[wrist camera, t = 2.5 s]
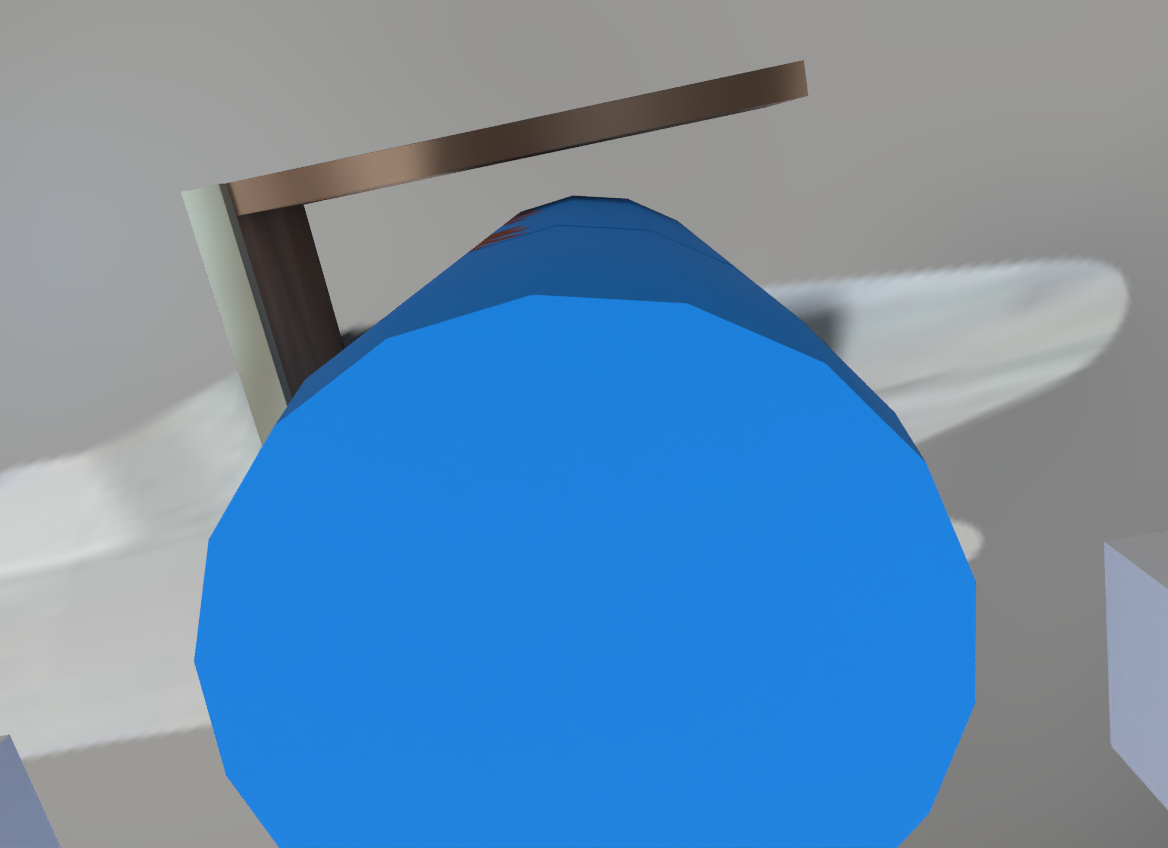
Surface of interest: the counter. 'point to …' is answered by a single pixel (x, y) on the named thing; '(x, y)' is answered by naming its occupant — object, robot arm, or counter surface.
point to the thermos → (587, 570)
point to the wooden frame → (276, 201)
